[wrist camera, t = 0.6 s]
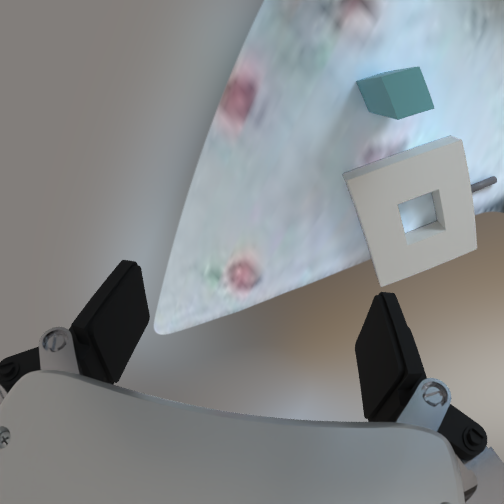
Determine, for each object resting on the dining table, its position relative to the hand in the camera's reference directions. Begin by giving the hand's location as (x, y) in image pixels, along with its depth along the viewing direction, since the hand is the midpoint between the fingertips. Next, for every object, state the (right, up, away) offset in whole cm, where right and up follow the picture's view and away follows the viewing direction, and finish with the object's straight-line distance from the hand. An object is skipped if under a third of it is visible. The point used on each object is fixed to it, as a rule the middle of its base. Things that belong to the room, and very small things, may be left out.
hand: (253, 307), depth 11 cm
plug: (+14, +21, +17) cm, 31 cm away
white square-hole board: (+24, +9, +23) cm, 34 cm away
